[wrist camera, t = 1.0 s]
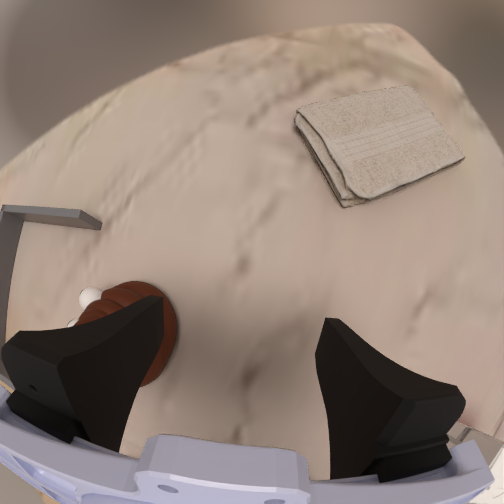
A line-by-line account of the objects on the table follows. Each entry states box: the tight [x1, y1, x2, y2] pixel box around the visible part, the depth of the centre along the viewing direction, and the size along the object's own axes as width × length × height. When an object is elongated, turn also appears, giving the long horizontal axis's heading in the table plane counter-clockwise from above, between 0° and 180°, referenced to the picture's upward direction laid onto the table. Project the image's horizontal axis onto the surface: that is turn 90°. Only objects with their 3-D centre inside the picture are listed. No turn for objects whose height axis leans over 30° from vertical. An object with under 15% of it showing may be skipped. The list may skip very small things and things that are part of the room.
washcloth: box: [294, 85, 465, 207], centre depth 25 cm, size 12×18×3 cm, turn 114°
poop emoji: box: [67, 281, 177, 387], centre depth 19 cm, size 10×8×9 cm
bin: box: [0, 205, 102, 390], centre depth 23 cm, size 20×15×4 cm
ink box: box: [446, 421, 504, 504], centre depth 13 cm, size 9×5×12 cm, turn 57°
